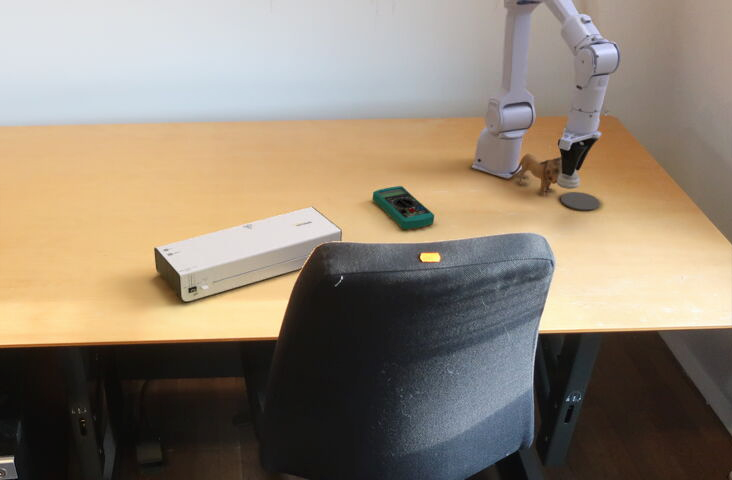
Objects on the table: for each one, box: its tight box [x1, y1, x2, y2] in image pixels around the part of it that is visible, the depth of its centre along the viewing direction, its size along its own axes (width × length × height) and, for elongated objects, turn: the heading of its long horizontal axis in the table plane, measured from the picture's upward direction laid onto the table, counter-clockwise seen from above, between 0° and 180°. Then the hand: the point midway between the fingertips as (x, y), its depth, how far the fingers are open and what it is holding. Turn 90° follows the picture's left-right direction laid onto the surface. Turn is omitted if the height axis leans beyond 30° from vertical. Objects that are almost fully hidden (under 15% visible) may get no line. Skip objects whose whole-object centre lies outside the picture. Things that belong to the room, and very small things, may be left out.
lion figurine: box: [509, 153, 562, 197], centre depth 189 cm, size 15×5×9 cm, turn 40°
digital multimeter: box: [372, 185, 435, 231], centre depth 180 cm, size 7×15×3 cm, turn 21°
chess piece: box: [556, 141, 583, 190], centre depth 174 cm, size 4×4×10 cm
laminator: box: [153, 206, 343, 303], centre depth 162 cm, size 34×12×6 cm, turn 119°
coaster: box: [560, 191, 600, 212], centre depth 186 cm, size 8×8×1 cm
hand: (570, 171), depth 175 cm, fingers closed on chess piece, 3 cm apart
